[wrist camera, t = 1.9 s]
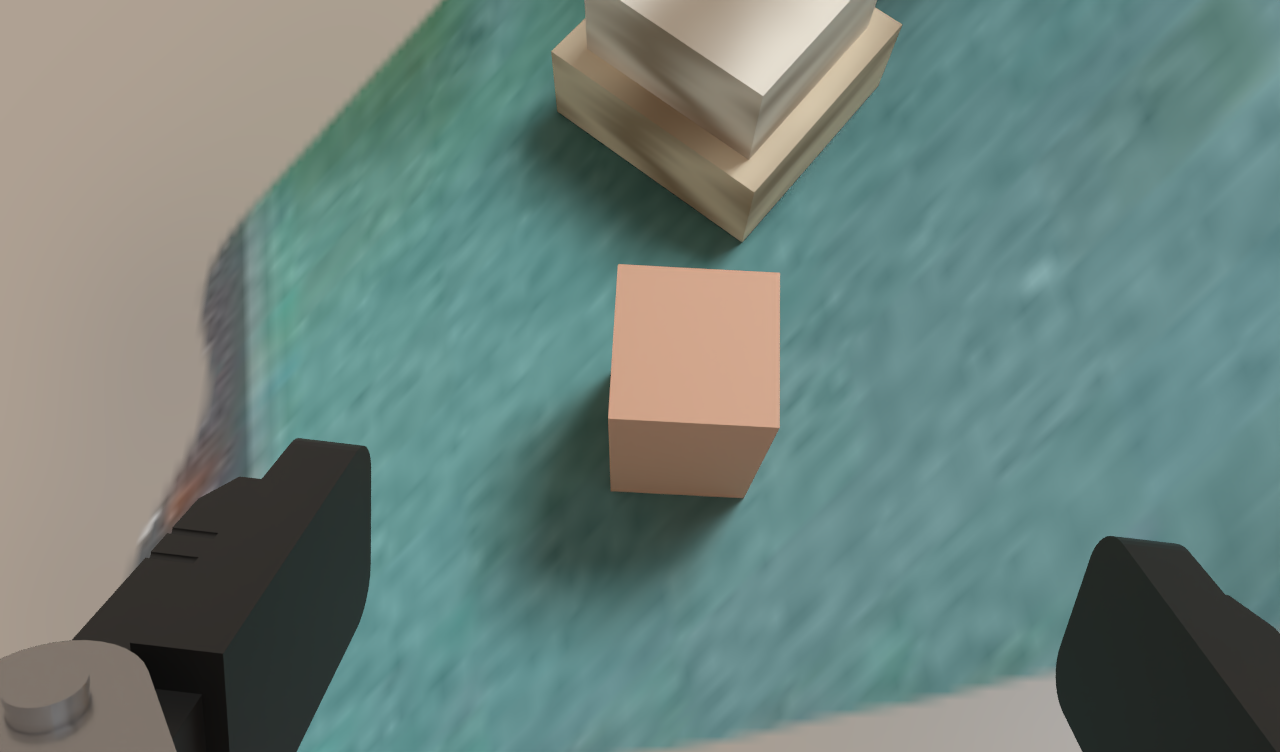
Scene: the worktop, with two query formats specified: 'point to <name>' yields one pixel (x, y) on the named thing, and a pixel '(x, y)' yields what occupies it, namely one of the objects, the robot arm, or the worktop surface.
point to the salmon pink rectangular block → (693, 379)
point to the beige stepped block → (721, 91)
